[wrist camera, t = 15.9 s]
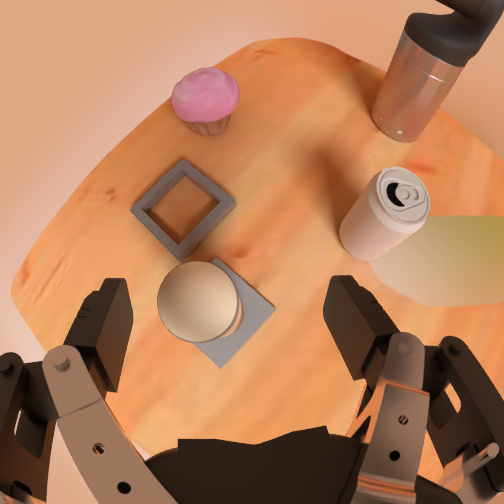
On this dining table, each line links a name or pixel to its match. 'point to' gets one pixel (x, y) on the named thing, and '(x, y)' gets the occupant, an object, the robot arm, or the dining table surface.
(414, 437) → the robot arm
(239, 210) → the dining table surface
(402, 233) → the beverage can
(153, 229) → the socket collar
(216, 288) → the beige tall cylinder
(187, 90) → the cupcake
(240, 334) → the mat
